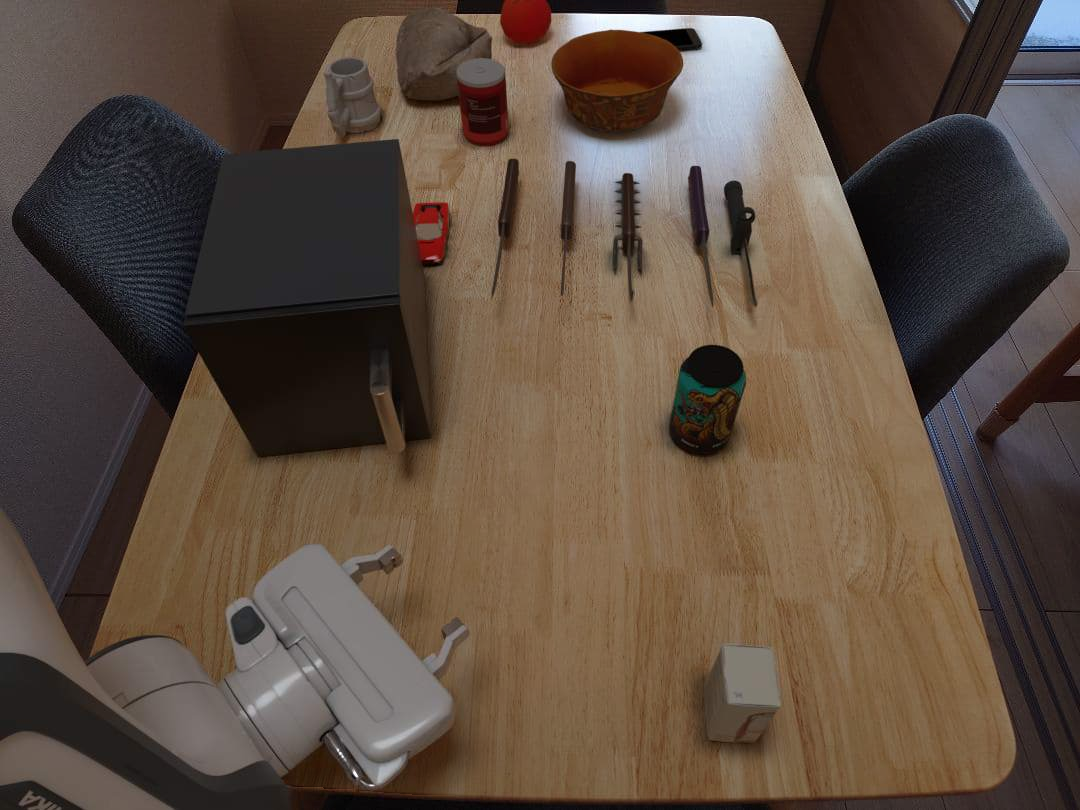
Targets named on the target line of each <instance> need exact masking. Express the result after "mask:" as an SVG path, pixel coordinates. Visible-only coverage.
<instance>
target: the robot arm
mask: <svg viewBox="0 0 1080 810" xmlns="http://www.w3.org/2000/svg"><path fill="white" fill-rule="evenodd" d="M402 557H403V556H402V554H401V553H400V552H399V551H398V550H397V548H395V547H394V545H393V544H388V545H386V546H385V547H383V548H382V549H380V550H379V551H378V552H376V553H375V554H374V553H371V554H365V555H357V556H352V557H350V558H349V559H347V560H346V561H344V562H343V563H341V564H340V563H339V562H338V560H337V559H336V558H335V557H334V556H333V554H332V552H330V551H329V550H328V549H327V547H326V546H325V545H324V544H323V543H319V542H317V543H308V544H304V545H302V546H300V547H299V548H298V549H296V550H295V551H293V552H292V553H291V554H289V555H288V556H287V557H285V558H284V559H282V560H281V561H280V562H278V563H277V564H276V565H275V566H273V567H272V568H271V569H270V570H268V571H267V572H266V573H265V574H264V575H263V576H262V577H261V578H260V579H259V580H258V582H257V583H256V584H255V586H254V588H253V591H252V596H251V597H252V599H251V598H250V597H247V596H242V597H239V598H237V599H235V600H234V601H232V602H231V603H230V604H229V605H228V606H226V608H225V612H224V613H225V620H226V624H227V625H226V626H227V628H228V633H229V637H230V642H231V647H232V651H233V657H234V662H235V666H236V667H235V668H234V669H233V670H232V671H230V672H229V673H227V674H226V675H225V676H224V677H222V678H221V679H220V680H219V681H218V682H217V684H216V683H215V682H214V680H213V678H212V677H211V675H210V674H209V672H208V671H207V669H206V667H204V665H203V663H202V662H201V661H200V659H199V658H198V657H197V655H196V654H195V653H193V651H191V650H190V649H189V648H188V647H187V646H185V644H184V643H182V641H181V640H179V639H177V638H175V637H172V636H167V635H162V634H161V635H160V634H145V635H144V634H143V635H138V636H133V637H129V638H125V639H122V640H120V641H116V642H115V643H112V644H110V645H108V646H105V647H104V648H102V649H100V650H98V651H97V652H95V653H94V654H92V655H91V656H89V657H88V658H87V659H85V660H84V659H83V658H82V656H81V655H80V653H79V651H78V649H77V648H76V645H75V644H74V642H73V640H72V638H71V636H70V635H69V633H68V631H67V629H66V627H65V625H64V623H63V621H62V619H61V617H60V615H59V613H58V610H57V609H56V607H55V605H54V602H53V600H52V597H51V596H50V594H49V592H48V590H47V588H46V586H45V585H46V584H45V583H44V581H43V579H42V577H41V575H40V572H39V571H38V569H37V567H36V565H35V562H34V561H33V558H32V556H31V554H30V552H29V550H28V549H27V546H26V544H25V542H24V541H23V538H22V536H21V534H20V532H19V531H18V529H17V528H16V526H15V525H14V523H13V522H12V520H11V519H10V517H9V516H8V515H7V513H6V512H5V510H4V509H3V507H2V506H1V505H0V810H291V803H292V791H291V789H290V788H289V786H288V785H287V784H286V782H284V780H283V779H282V777H284V776H286V775H287V774H289V773H290V771H291V770H293V769H295V768H296V767H297V766H298V765H300V764H301V763H302V762H303V761H304V760H305V759H306V758H307V757H309V756H310V755H312V753H314V752H315V751H316V750H317V749H319V748H320V747H322V745H323V746H324V747H325V749H326V750H327V751H328V752H329V754H330V755H331V757H332V758H333V759H334V760H335V761H336V762H337V763H338V764H339V766H340V767H341V768H342V769H343V771H344V774H345V776H346V778H347V779H348V780H349V782H350V783H351V784H352V785H354V786H359V785H360V786H361V787H363V788H364V789H367V790H378V789H381V788H384V787H385V786H388V785H389V784H390V783H391V782H392V781H393V780H394V779H395V778H397V776H399V774H401V773H402V772H403V771H404V769H406V767H407V766H408V765H407V764H408V762H409V760H410V759H411V758H413V757H414V756H415V755H418V754H419V753H420V752H422V751H424V750H425V749H426V748H428V747H429V746H430V745H432V744H433V743H435V742H436V741H437V740H439V739H440V738H441V737H442V736H444V735H445V734H446V733H447V732H448V731H449V730H450V729H451V728H452V727H453V726H454V724H455V720H456V715H457V706H456V702H455V699H454V698H453V696H452V694H451V693H450V692H449V691H448V689H446V687H445V686H444V685H443V684H442V682H441V681H440V680H441V679H442V678H443V677H444V676H445V675H447V673H448V670H449V667H450V664H451V661H452V659H453V656H454V654H455V650H456V649H458V647H459V646H460V645H461V644H463V643H464V642H465V641H467V639H468V638H469V636H470V629H469V627H468V626H467V625H466V624H465V623H464V622H463V621H462V620H461V619H460V618H459V617H458V616H456V617H454V618H453V619H451V621H450V622H449V623H446V624H445V625H444V626H443V627H442V628H441V629H440V630H441V634H442V638H443V640H444V641H443V643H442V646H441V648H440V650H439V652H438V655H436V654H435V653H434V652H431V653H430V654H429V655H428V656H426V657H425V658H424V659H421V658H420V657H419V656H418V655H417V653H416V652H415V651H414V650H413V649H412V647H411V646H410V645H409V644H408V642H407V641H406V640H405V639H404V638H403V636H401V634H400V633H399V631H397V630H396V628H395V627H394V626H393V625H392V624H391V623H390V621H389V620H388V619H387V618H386V617H385V616H384V614H383V613H382V612H381V611H380V610H379V608H378V607H377V606H376V605H375V603H374V602H373V601H372V600H371V599H370V598H369V597H368V595H366V593H365V592H364V591H363V590H362V589H361V587H360V586H359V585H358V584H360V583H362V581H364V577H363V575H365V574H369V573H373V572H377V571H383V572H384V573H385V574H386V575H389V574H391V573H392V572H393V571H394V570H395V569H396V568H399V567H400V566H401V565H402V564H403V562H404V561H403V560H404V559H403V558H402ZM366 777H367V778H368V780H369V781H370V782H368V781H367V780H365V779H366Z"/></svg>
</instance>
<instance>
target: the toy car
mask: <svg viewBox="0 0 1080 810" xmlns="http://www.w3.org/2000/svg"><path fill="white" fill-rule="evenodd" d="M412 212H413V217H414V223H415V228H416V233H417V238H418V244H419V249H420V254H421V260H422V265H423V266H432V265H433V266H434V265H439V264H442V263H443V262H444V259H445V255H447V241H448V237H449V236H448V235H449V229H450V223H451V216H450V208H449V203H448V202H441V201H440V202H439V201H438V202H417V203H414V207H413V210H412Z"/></svg>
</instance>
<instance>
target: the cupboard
mask: <svg viewBox="0 0 1080 810" xmlns="http://www.w3.org/2000/svg"><path fill="white" fill-rule="evenodd" d="M401 149H402V148H401V144H400V139H399V138H392V139H391V138H390V139H383V140H382V139H380V140H368V141H356V142H347V143H346V142H345V143H336V144H335V143H333V144H323V145H312V146H302V147H301V146H300V147H289V148H279V149H278V148H277V149H266V150H254V151H245V152H230V153H223V154H222V158H221V162H220V167H219V170H218V171H219V172H218V174H217V179H216V183H215V188H214V192H213V196H212V200H211V204H210V209H209V213H208V218H207V222H206V225H205V229H204V234H203V238H202V241H201V246H200V249H199V250H200V251H199V255H198V258H197V262H196V267H195V270H194V275H193V279H192V283H191V288H190V291H189V296H188V300H187V305H186V309H185V313H184V316H185V318H191V317H201V316H211V315H221V314H231V313H241V312H251V311H261V310H271V309H282V308H292V307H302V306H312V305H322V304H332V303H342V302H352V301H362V300H372V299H382V298H392V297H400V300H401V305H402V309H403V313H404V318H405V322H406V326H407V331H408V335H409V339H410V344H411V348H412V352H413V357H414V361H415V365H416V370H417V374H418V378H419V382H420V387H421V391H422V395H423V400H424V404H425V408H426V413H427V417H428V421H429V426H430V430H431V431H432V425H431V395H430V369H429V342H428V341H429V340H428V339H429V337H428V315H427V313H428V311H427V290H426V289H427V288H426V287H427V286H426V276H425V271H424V265H422V260H421V254H420V249H419V244H418V238H417V233H416V228H415V223H414V217H413V207H412V203H411V198H410V192H409V191H410V190H409V185H408V181H407V175H406V170H405V165H404V161H403V155H402V150H401Z"/></svg>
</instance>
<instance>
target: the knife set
mask: <svg viewBox="0 0 1080 810" xmlns="http://www.w3.org/2000/svg"><path fill="white" fill-rule="evenodd" d="M564 166H565V167H564V179H563V180H564V181H563V194H562V206H561V220H560V239H561V240H562V241H564V242H563V255H562V267H561V280H560V281H561V282H560V283H561V284H560V296H561V297H563V296H564V289H565V288H564V287H565V274H566V260H567V258H566V257H567V243H568V241H571V240H572V238H573V226H574V225H573V224H574V208H575V190H576V176H577V175H576V174H577V173H576V172H577V164H576V162H574V161H572V160H566V162H565V165H564ZM702 172H703V171H702V167H701V166H700V165H691V166H690V167H689V173H688V176H687V185H688V195H689V206H690V208H689V209H690V218H691V226H692V232H693V239H694V244H695V246H698V247H699V248H700V252H702V258H703V266H704V272H705V278H706V286H707V290H708V291H707V292H708V296H709V301H710V304H711V307H712V308H713V307H714V295H713V286H712V278H711V272H710V271H711V270H710V263H709V257H708V248H707V244H708V239H709V235H710V226H709V220H708V216H707V210H706V209H707V208H706V201H705V193H704V182H703V181H704V180H703V173H702ZM519 176H520V163H519V159H517V158H508V160H507V165H506V172H505V179H504V185H503V191H502V199H501V205H500V210H499V213H498V219H497V228H498V229H497V230H498V231H497V233H498V237H500V238H499V246H498V252H497V258H496V263H495V271H494V275H493V281H492V288H491V297H490V301H491V300H492V299H493V297H494V295H495V292H496V289H497V283H498V279H499V278H498V277H499V273H500V267H501V261H502V256H503V249H504V243H505V239H508V238H510V236H511V232H512V228H513V227H512V226H513V221H514V214H515V207H516V198H517V191H518V183H519ZM614 183H615V184H619V185H621V188H620V190H616V191H614V193H617V194H621V199H620V200H619V199H618V200H614V201H613V202H615V203H618V204H620V205H621V211H618V212H614V214H615V215H619V216H621V224H616V225H615V227H616V228H619V229H621V235H616V236H615V237H614V238H613V241H612V242H613V243H612V244H613V245H612V268H613V269H614V270H616V269H617V267H618V246H619V241H621V249H622V251H623V252H626V257H627V285H628V287H627V288H628V294H629V297H628V298H629V301H630V303H632V302H633V299H634V295H635V291H634V290H633V285H632V282H633V281H632V259H631V258H632V257H631V253H632V252H633V251H634V248H635V242H637V252H636V253H637V254H636V255H637V269H638V270H639V271H642V270H643V238H642V237H641V236H637V235H636V229H640V228H642V226H639V225H636V223H635V222H636V221H635V219H636V218H635V217H636V216H641V215H643V214H642V213H639V212H635V205H637V204H641V203H642V202H641V201H637V200H635V195H638V194H641V192H640V191H636V190H635V188H634V187H635V185H640V184H641V182H639V181H634V174H633V173H631V172H625V173H623V174H622V176H621V180H617V181H614ZM723 195H724V198H725V200H726V205H727V210H728V211H727V212H728V217H729V223H730V228H731V238H730V253H731V254H732V255H733V254H734V255H735V254H736V255H740V256H741V261H742V266H743V271H744V279H745V284H746V291H747V297H748V300H749V304H750V305H751V306H753V307H754V308H757V307H758V301H757V297H756V291H755V285H754V277H753V270H752V265H751V259H750V254H749V248H748V247H749V244H750V240H751V236H752V232H753V226H752V224H753V223H754V222H755V221H756V212H755V210H754V208H753V207H750V206H745V203H744V197H743V196H744V191H743V186H742V183H741V182H740V181H739V180H734V179H733V180H730V181H727V182H726V183H725V184H724V186H723ZM747 214H750V216H749V217H747Z"/></svg>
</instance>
